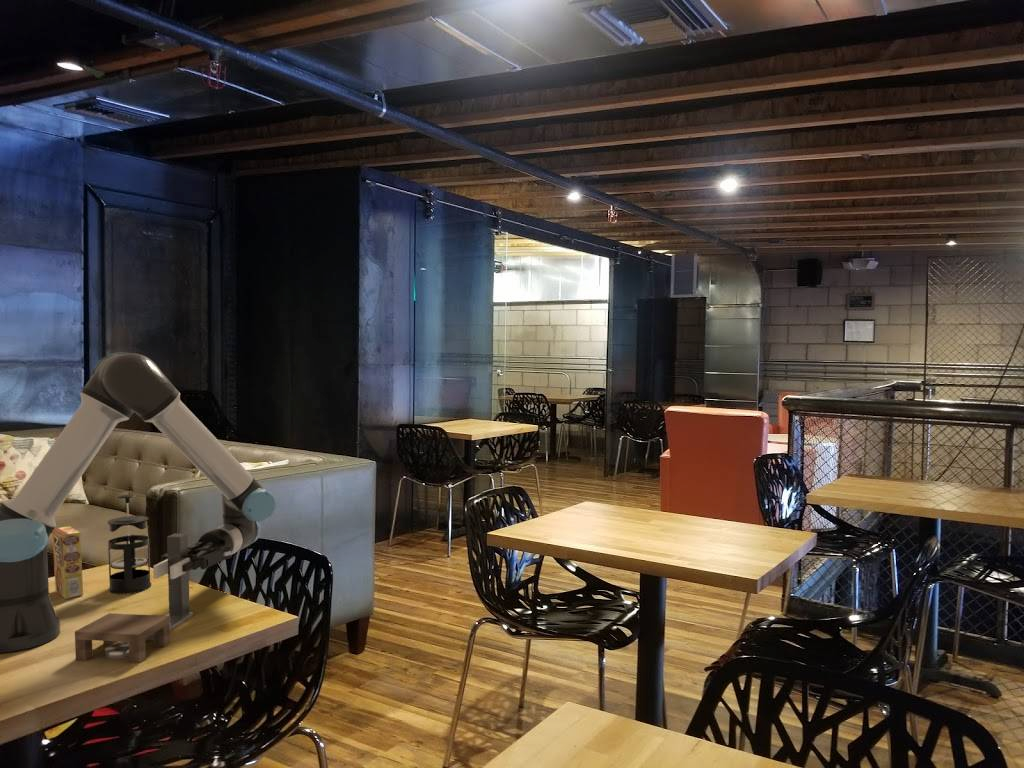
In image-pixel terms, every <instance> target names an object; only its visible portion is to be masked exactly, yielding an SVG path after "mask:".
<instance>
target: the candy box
mask: <svg viewBox="0 0 1024 768" xmlns="http://www.w3.org/2000/svg"><path fill="white" fill-rule="evenodd" d="M51 534H52V551H53V567H54V568H53V569H54V585H55V588H54V589H55V592H57V594H58V595H60V596H61V597H63V598H64V599H65V600H67V599H72V598H76V597H79V596H80V597H81V596H84V587H83V586H84V585H83V583H84V582H83V565H82V545H81V544H82V543H81V532H80V531H78V530H77V529H76V528H73V527H72V526H62V527H57V528H56V527H55V528H54V530H53V531H52V533H51Z"/></svg>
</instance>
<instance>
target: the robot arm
mask: <svg viewBox="0 0 1024 768" xmlns="http://www.w3.org/2000/svg"><path fill="white" fill-rule="evenodd" d="M79 395H80V398H81V399H80V400H81V404H80V405H79V407H78V408H77V410H76V411H75V413H73V415H72V417H71V418H70V419H69V421H68V423H66V425H65V427H64V428H63V429H62V431H61V433H60V434H59V435H58V437H57V438H56V439H55V441H54V442H53V443H52V445H51V447H50V448H49V449H48V451H47V452H46V453H45V455H44V456H43V458H42V459H41V460H40V462H39V463H38V465H37V467H36V468H35V469H34V470H33V472H32V473H31V475H30V476H29V478H28V479H27V480H26V482H25V483H24V485H23V486H22V487H21V489H20V490H19V492H18V493H17V495H16V496H15V497H13V498H10V499H6V500H3V501H2V502H1V504H0V654H3V653H4V654H5V653H11V652H12V653H13V652H18V651H23V650H27V649H31V648H34V647H38V646H40V645H43V644H47V643H49V642H51V641H52V640H54V639H55V638H57V637H58V636H59V635H60V634H61V621H60V619H59V617H58V615H57V614H56V611H55V608H54V606H53V603H52V601H51V597H50V590H49V589H50V588H49V587H50V586H49V585H50V584H49V583H50V582H49V567H48V566H49V564H48V563H49V562H48V561H49V560H48V542H49V537H50V536H51V534H52V531H53V530H54V529H56V527H57V524H56V518H55V515H56V514H57V512H58V511H59V509H60V507H61V506H62V505H63V504H64V502H65V500H66V499H67V498H68V496H69V494H70V493H72V490H73V489H74V487H75V486H76V484H77V483H78V481H80V478H81V477H82V476H83V474H84V473H85V471H86V470H87V468H88V467H89V465H90V464H91V463H92V461H93V460H94V458H95V457H96V455H97V454H98V453H99V452H100V449H101V448H102V446H103V445H104V444H105V442H106V441H107V439H108V438H109V436H110V435H111V434H112V432H113V430H114V429H115V428H116V426H117V425H118V424H119V423H120V422H124V421H125V422H126V421H128V420H130V418H131V417H132V415H133V414H134V413H135V414H136V416H138V417H139V418H140V419H141V420H142V421H143V422H145V423H152V424H153V426H155V428H157V429H158V430H159V431H160V432H161V433H162V435H164V437H166V438H167V439H168V441H170V442H171V443H172V444H173V446H174V447H176V449H178V450H179V451H180V453H181V454H183V455H184V456H185V457H186V459H188V460H189V462H191V464H192V465H193V466H195V468H197V470H198V471H200V473H201V474H202V475H204V477H205V478H206V479H207V480H208V481H209V482H210V483H212V485H214V487H215V488H216V489H217V490H218V491H219V492H220V493H221V507H222V525H220V526H217V527H216V528H214V529H211V530H210V531H208V532H205V533H204V534H202V535H201V536H200V537H199V539H198V541H197V542H196V543H194V544H192V545H190V546H188V558H186V559H184V560H182V561H180V562H178V563H176V564H174V565H172V566H170V579H175V578H177V577H179V576H181V575H183V574H184V573H186V572H188V571H189V572H190V571H191V570H192V571H195V570H198V569H199V568H200V569H201V570H205V569H208V568H209V567H212V566H214V565H216V564H219V563H221V562H222V561H224V560H228V559H231V558H232V555H234V554H236V553H238V552H240V551H241V550H244V549H245V548H248V547H250V546H251V545H252V544H254V543H255V542H256V541H257V540H258V539H259V538H260V536H261V533H262V525H261V524H260V522H263V521H264V522H265V521H266V520H268V519H269V518H271V517H272V516H273V515H274V513H275V511H276V508H277V501H276V498H275V496H274V494H273V493H272V492H270V490H268V489H266V488H264V487H263V486H262V485H261V484H260V483H259V481H257V480H256V479H255V478H254V476H253V473H252V472H251V471H248V470H247V469H246V468H245V467H244V466H243V465H242V464H241V463H240V461H238V460H237V458H235V456H234V455H233V454H232V453H231V452H230V451H229V450H228V449H227V448H226V447H225V445H223V443H222V442H220V441H219V439H217V437H216V436H215V435H214V434H213V433H212V432H211V431H210V430H209V429H208V427H206V426H205V425H204V424H203V422H202V421H201V420H199V418H198V417H197V416H196V415H195V414H194V413H193V412H192V411H191V410H190V409H189V408H188V407H187V405H186V404H185V403H183V402H182V400H181V393H180V391H179V390H178V389H177V388H176V386H174V384H172V382H171V380H169V378H167V376H166V375H165V374H164V372H162V370H161V369H160V367H158V366H157V364H156V363H155V362H154V361H153V360H152V359H150V358H149V357H147V356H146V355H143V354H140V353H136V352H135V353H134V352H131V353H130V352H127V351H125V352H123V351H122V352H121V351H119V352H114V353H111V354H108V355H106V356H104V357H102V358H101V359H100V360H98V362H97V363H96V364H95V366H94V368H93V370H92V372H91V376H90V378H89V380H88V381H87V382H86V384H85V385H84V387H83V389H82V390H81V391H80V393H79ZM160 557H161V561H160V562H158V563H157V564H154V565H153V566H152V567H153V579H155V580H157V579H159V578H162V577H163V576H165V575H168V554H167V552H166V553H165V554H163V555H161V556H160Z"/></svg>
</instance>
